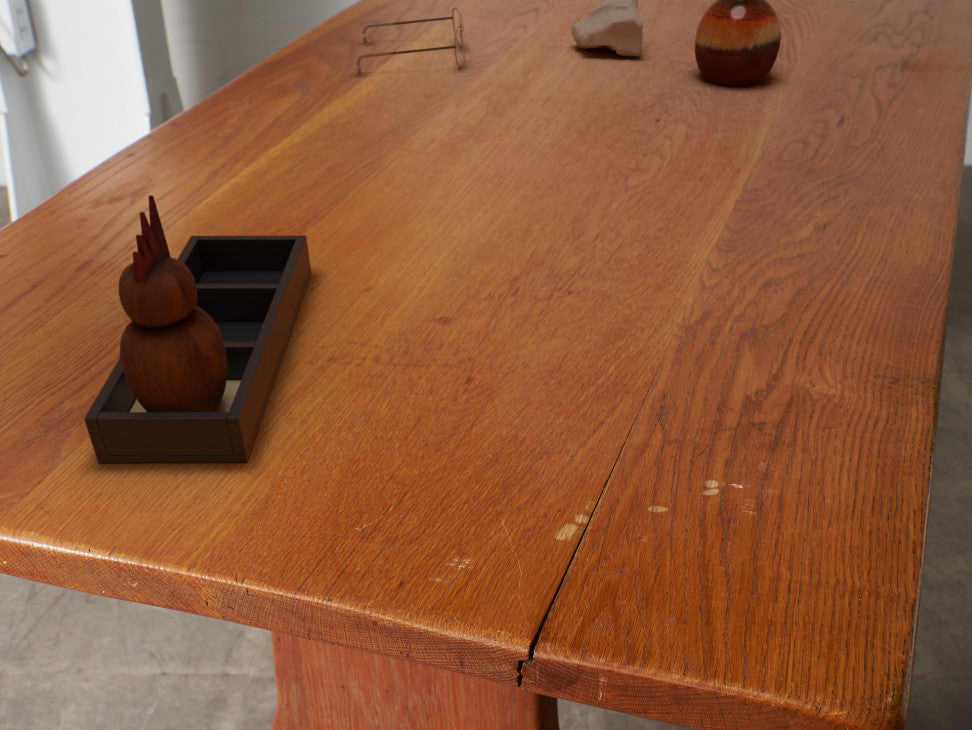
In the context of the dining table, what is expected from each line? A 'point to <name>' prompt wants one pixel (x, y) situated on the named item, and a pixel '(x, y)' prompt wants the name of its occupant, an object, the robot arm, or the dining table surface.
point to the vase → (737, 42)
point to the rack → (248, 346)
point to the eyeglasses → (417, 49)
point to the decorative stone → (611, 27)
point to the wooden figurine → (168, 330)
